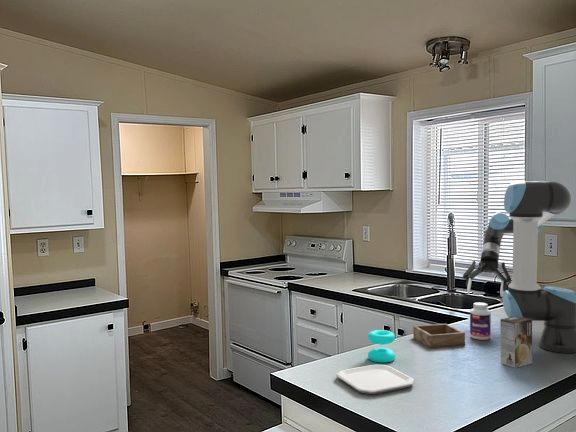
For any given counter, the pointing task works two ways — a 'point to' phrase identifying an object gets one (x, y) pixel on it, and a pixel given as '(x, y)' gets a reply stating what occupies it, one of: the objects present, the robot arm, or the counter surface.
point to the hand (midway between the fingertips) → (484, 293)
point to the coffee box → (516, 341)
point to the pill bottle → (480, 321)
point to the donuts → (381, 353)
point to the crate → (439, 335)
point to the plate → (375, 379)
